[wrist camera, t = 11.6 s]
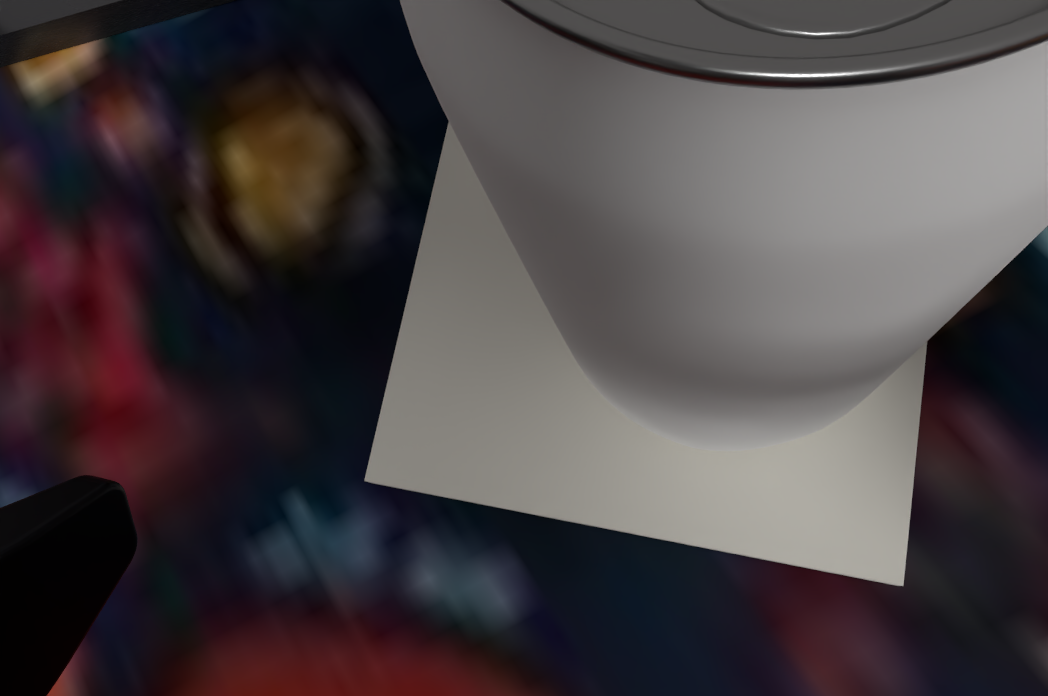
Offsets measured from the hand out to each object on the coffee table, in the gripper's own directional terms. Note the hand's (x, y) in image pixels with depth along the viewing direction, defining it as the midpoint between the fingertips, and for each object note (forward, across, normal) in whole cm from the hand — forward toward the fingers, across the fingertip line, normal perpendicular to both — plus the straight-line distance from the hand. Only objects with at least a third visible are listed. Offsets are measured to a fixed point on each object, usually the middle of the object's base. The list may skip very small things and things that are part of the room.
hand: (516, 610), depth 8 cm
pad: (+10, 0, +1) cm, 10 cm away
